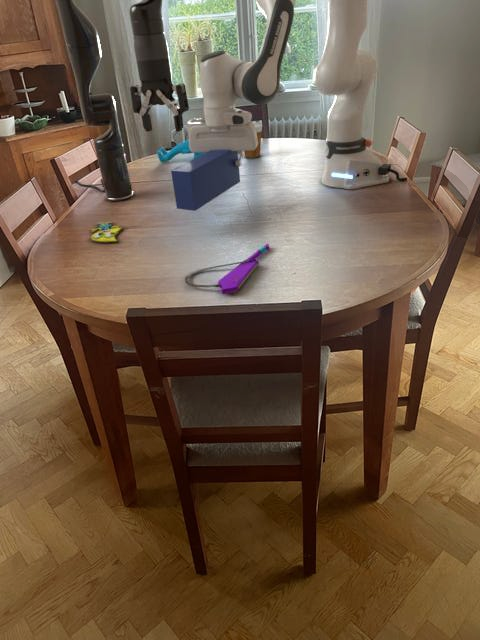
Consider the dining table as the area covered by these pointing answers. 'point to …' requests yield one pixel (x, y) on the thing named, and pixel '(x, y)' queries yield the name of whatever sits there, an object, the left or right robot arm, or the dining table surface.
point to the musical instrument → (234, 273)
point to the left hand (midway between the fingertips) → (164, 131)
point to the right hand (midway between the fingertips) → (225, 166)
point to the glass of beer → (257, 150)
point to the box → (204, 178)
